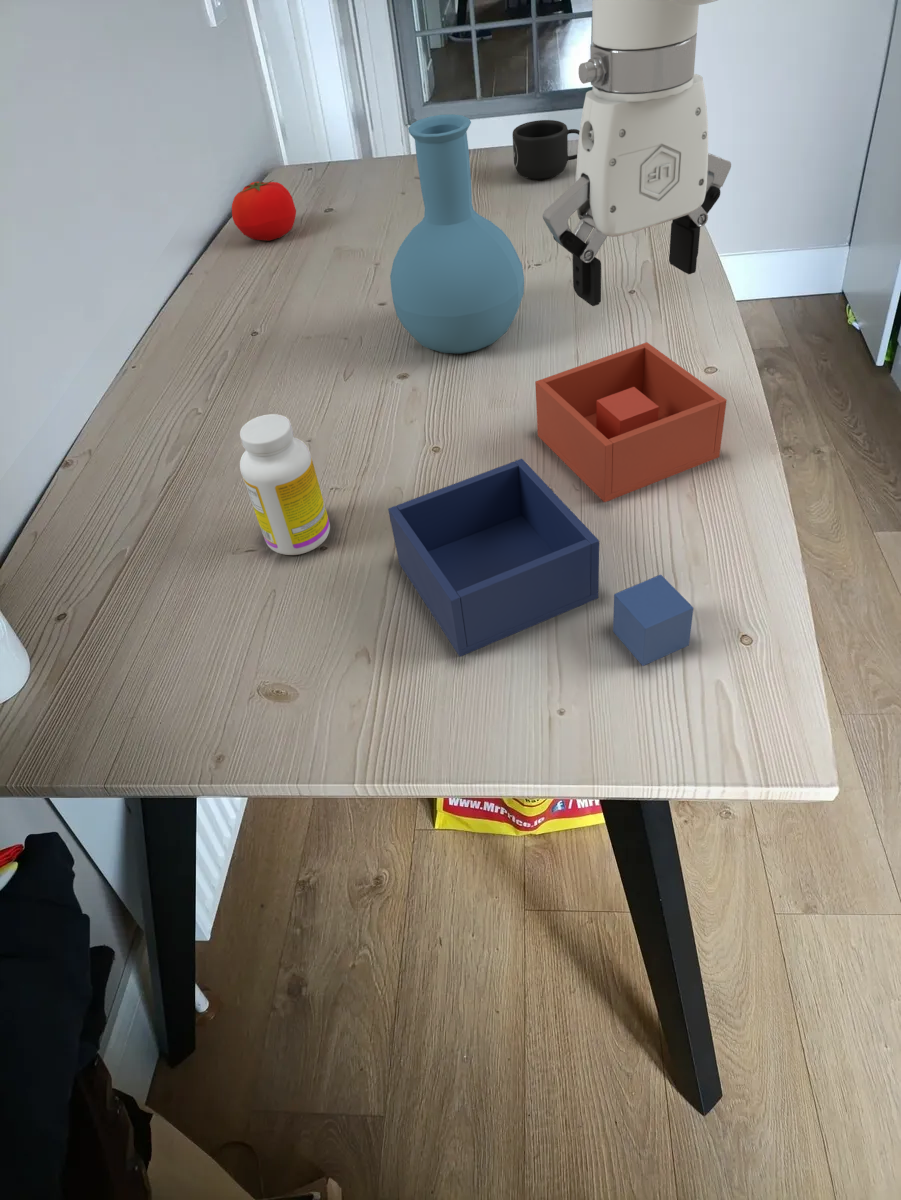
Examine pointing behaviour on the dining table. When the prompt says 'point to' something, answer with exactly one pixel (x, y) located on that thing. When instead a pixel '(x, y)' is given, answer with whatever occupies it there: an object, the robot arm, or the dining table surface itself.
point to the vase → (453, 252)
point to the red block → (624, 412)
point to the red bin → (644, 452)
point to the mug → (541, 148)
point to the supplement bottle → (283, 486)
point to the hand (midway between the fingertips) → (635, 283)
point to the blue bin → (495, 555)
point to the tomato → (264, 211)
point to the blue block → (652, 619)
